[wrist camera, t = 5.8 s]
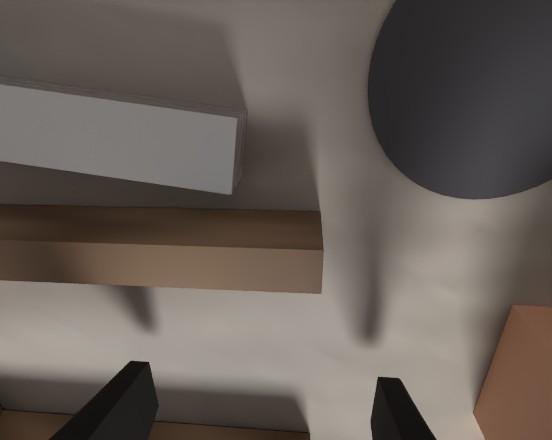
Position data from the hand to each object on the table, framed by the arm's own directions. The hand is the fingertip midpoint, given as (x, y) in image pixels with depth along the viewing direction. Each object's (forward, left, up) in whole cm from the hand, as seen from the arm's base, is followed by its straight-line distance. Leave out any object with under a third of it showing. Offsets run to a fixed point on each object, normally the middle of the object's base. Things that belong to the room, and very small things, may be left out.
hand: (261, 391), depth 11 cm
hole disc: (+6, +9, -2) cm, 11 cm away
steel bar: (-6, +8, -2) cm, 11 cm away
